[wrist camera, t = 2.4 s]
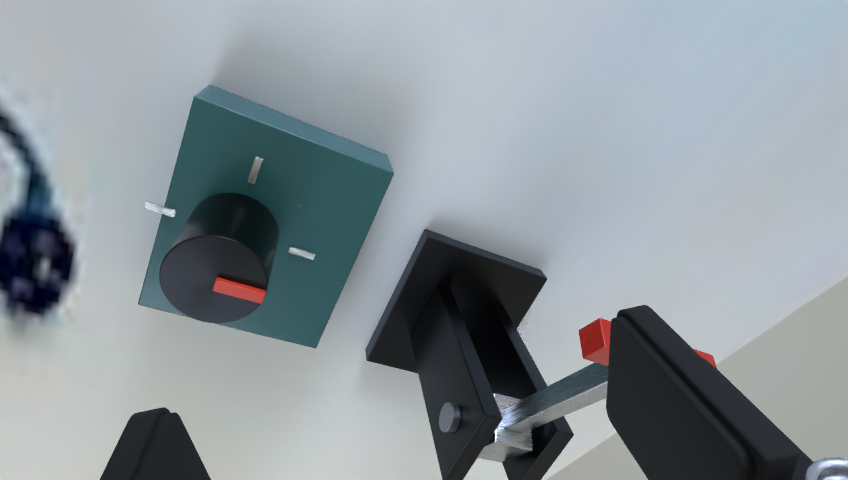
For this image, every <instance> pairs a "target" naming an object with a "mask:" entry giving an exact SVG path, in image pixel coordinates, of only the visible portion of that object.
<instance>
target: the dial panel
mask: <svg viewBox="0 0 848 480" xmlns="http://www.w3.org/2000/svg"><path fill="white" fill-rule="evenodd" d="M393 175H394V172H393V170H392V167H391V164H390V161H389V158H388V156H387V155H385V154H383V153H380V152H378V151H375V150H373V149H370V148H368V147H365V146H363V145H360V144H358V143H355V142H353V141H350V140H348V139H345V138H343V137H340V136H338V135H335V134H333V133H330V132H327V131H325V130H322V129H320V128H317V127H315V126H312V125H310V124H307V123H305V122H302V121H300V120H297V119H295V118H292V117H290V116H287V115H285V114H282V113H280V112H277V111H275V110H272V109H270V108H267V107H265V106H262V105H260V104H257V103H255V102H252V101H250V100H247V99H245V98H242V97H240V96H237V95H235V94H232V93H230V92H227V91H225V90H222V89H220V88H217V87H215V86H212V85H209V86H207V87H206V88H205V89H203V90H202V91H201V92H199V93H198V94H197V95H195V96H194V98H193V102H192V106H191V109H190V113H189V117H188V121H187V124H186V128H185V132H184V135H183V139H182V143H181V146H180V150H179V154H178V158H177V161H176V165H175V169H174V172H173V176H172V180H171V183H170V187H169V191H168V195H167V198H166V202H165V206H162V205H158V204H155V203H152V202H149V201H146V203H145V207H144V208H145V209H149V210H152V211H155V212H158V213H162V217H161V220H160V224H159V228H158V232H157V235H156V239H155V243H154V246H153V250H152V254H151V257H150V261H149V265H148V269H147V272H146V276H145V280H144V283H143V287H142V291H141V294H140V298H139V302H138V305H142V306H146V307H150V308H154V309H158V310H162V311H166V312H170V313H174V314H178V315H182V316H186V317H189V316H187V315H185V314H183V313H182V312H180V311H179V310H177V309H176V308H175V307H174V306H173V305H172V304H171V303H170V302H169V301H168V299H167V298H166V296H165V295H164V293H163V291H162V288H161V285H160V280H159V271H160V266H161V263H162V260H163V259H164V257H165V255H166V254H167V252H168V250H169V249H170V247H171V246H172V244H173V243H174V241H175V239H176V238H177V236H178V235H179V233H180V231H181V230H182V228H183V227H184V225H185V224H186V222H187V220H188V219H189V217H190V216H191V214H192V212H193V211H194V209H195V208H196V207H197V206H198V205H199V204H200V203H201V202H202V201H204V200H205V199H207V198H209V197H211V196H213V195H216V194H221V193H239V194H243V195H247V196H249V197H252V198H254V199H256V200H258V201H259V202H260V203H262V204H263V205H264V206H265V207H267V209H268V210H269V211H270V212H271V213H272V215H273V216H274V218H275V221H276V223H277V226H278V242H277V247H276V251H275V256H274V261H273V265H272V270H271V274H270V279H269V284H268V288H267V292H266V295H265V297H264V299H263V302H262V304H260V305H259V306H258V307H257V308H256V309H255V310H254V311H253V312H252V313H250V314H249V315H247V316H245V317H243V318H241V319H238V320H235V321H231V322H225V323H215V324H219V325H223V326H227V327H231V328H235V329H239V330H243V331H247V332H251V333H255V334H259V335H263V336H267V337H272V338H276V339H280V340H284V341H288V342H292V343H296V344H300V345H304V346H308V347H312V348H316V347H317V345H318V343H319V341H320V338H321V336H322V334H323V332H324V329H325V327H326V325H327V323H328V320H329V318H330V316H331V314H332V311H333V309H334V307H335V305H336V302H337V300H338V298H339V296H340V293H341V291H342V289H343V287H344V284H345V282H346V280H347V278H348V276H349V273H350V271H351V269H352V267H353V264H354V262H355V260H356V258H357V255H358V253H359V251H360V249H361V246H362V244H363V242H364V240H365V237H366V235H367V233H368V231H369V228H370V226H371V224H372V222H373V219H374V217H375V215H376V213H377V210H378V208H379V206H380V204H381V201H382V199H383V197H384V195H385V193H386V190H387V188H388V186H389V184H390V181H391V179H392V177H393ZM190 318H191V317H190Z"/></svg>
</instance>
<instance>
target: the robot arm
mask: <svg viewBox="0 0 848 480" xmlns="http://www.w3.org/2000/svg"><path fill="white" fill-rule="evenodd" d="M606 409H607V414H608V417H609V419H610V421H611V423H612V425H613V426H614V428H615V429H616V431H617V433H618V434H619V436H620V437H621V439H622V440H623V441H624V443H625V445H626V446H627V448H628V449H629V451H630V452H631V454H632V455H633V457H634V458H635V460H636V461H637V463H638V464H639V466H640V467H641V469H642V470H643V472H644V474H645V475H646V477H647V478H648V480H848V459H844V458H824V459H821V460H818V461H816V462H813V461H812V460H811V459H810V458H809V457H808V456H806V454H804V453H803V452H802V451H801V450H800V449H799V448H798V447H797V446H796V445H795V444H794V443H793V442H792V441H791V440H790V439H789V438H788V437H787V436H786V435H785V434H784V433H783V432H782V431H781V430H779V429H778V428H777V427H776V426H775V425H774V424H773V423H772V422H771V421H770V420H769V419H768V418H767V417H766V416H765V415H764V414H763V413H762V412H761V411H760V410H759V409H758V408H757V407H756V406H755V405H754V404H752V403H751V402H750V401H749V400H748V399H747V398H746V397H745V396H744V395H743V394H742V393H741V392H740V391H739V390H738V389H737V388H736V387H735V386H734V385H733V384H732V383H731V382H730V381H729V380H728V379H727V378H726V377H724V376H723V375H722V374H721V373H720V372H719V371H718V370H717V369H716V368H715V367H714V366H713V365H712V364H711V363H710V362H708V361H707V360H706V359H704V358H702V357H701V356H700V355H699V354H698V353H696V352H695V351H694V350H693V349H692V348H691V347H690V346H689V345H688V344H687V343H686V342H685V341H684V340H683V339H682V338H681V337H680V336H679V335H678V334H677V333H676V332H675V331H674V330H673V329H672V328H671V327H670V326H669V325H668V324H667V323H666V322H665V321H664V320H662V319H661V318H660V317H659V316H658V315H657V314H656V313H655V312H654V311H653V310H652V309H651V308H650V307H648V306H646V305H642V306H637V307H632V308H628V309H623V310H620V311H619V312H618V314H617V318H614V319H612V321H611V328H610V346H609V364H608V382H607V400H606ZM100 480H211V479H210V477H209V475H208V473H207V471H206V469H205V467H204V465H203V463H202V461H201V459H200V457H199V455H198V453H197V451H196V448H195V446H194V444H193V442H192V440H191V438H190V436H189V434H188V432H187V430H186V428H185V426H184V424H183V422H182V420H181V418H180V416H179V415H178V414H177V413H170V411H169V410H168V409H167V408H158V409H153V410H149V411H144V412H139V413H135V414H133V415H132V416H131V418H130V419H129V421H128V423H127V425H126V427H125V429H124V431H123V433H122V435H121V437H120V439H119V441H118V443H117V445H116V447H115V449H114V452H113V454H112V456H111V458H110V460H109V462H108V464H107V466H106V468H105V470H104V472H103V474H102V476H101V478H100Z"/></svg>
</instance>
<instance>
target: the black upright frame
mask: <svg viewBox="0 0 848 480" xmlns="http://www.w3.org/2000/svg"><path fill="white" fill-rule="evenodd" d="M546 280H547V278H546V276H545V275H544V274H543V272H542V271H541V270H539V269H536V268H533V267H530V266H527V265H525V264H522V263H519V262H516V261H513V260H510V259H508V258H505V257H502V256H499V255H496V254H494V253H491V252H488V251H485V250H482V249H479V248H477V247H474V246H471V245H468V244H465V243H463V242H460V241H457V240H454V239H451V238H448V237H446V236H443V235H440V234H437V233H434V232H432V231H429V230H426V229H425V230H424V232H423V234H422V236H421V238H420V240H419V242H418V244H417V246H416V248H415V250H414V252H413V254H412V256H411V258H410V260H409V262H408V265H407V267H406V269H405V271H404V273H403V275H402V277H401V279H400V281H399V283H398V285H397V287H396V289H395V291H394V293H393V295H392V297H391V299H390V301H389V303H388V305H387V307H386V309H385V311H384V313H383V315H382V317H381V319H380V321H379V323H378V325H377V328H376V330H375V332H374V334H373V336H372V338H371V340H370V342H369V344H368V346H367V348H366V359H367V361H370V362H374V363H378V364H383V365H387V366H391V367H395V368H399V369H403V370H407V371H411V372H415V373H418V374H419V378H420V382H421V387H422V391H423V396H424V400H425V404H426V409H427V413H428V418H429V422H430V426H431V431H432V435H433V440H434V444H435V448H436V453H437V457H438V462H439V466H440V470H441V475H442V479H443V480H463V479H464V477H465V476H466V474H467V473H468V471H469V469H470V468H471V466H472V465H473V463H474V462H475V460H476V459H477V457H478V456H479V454H480V453H481V451H482V450H483V448H484V447H485V445H486V444H487V442H488V441H489V439H490V438H491V436H492V435H493V433H494V432H495V430H496V429H497V427H498V426H499V424H500V423H501V421H502V420H503V417H502V415H501V412H500V410H499V407H498V405H497V402H496V400H495V397H494V395H493V393H496V394H500V395H504V396H508V397H512V398H516V399H520V400H522V399H524V398H526V397H528V396H530V395H532V394H534V393H536V392H538V391H540V390H542V389H544V388H546V387H548V386H547V385H546V383H545V381H544V379H543V377H542V375H541V374H540V372H539V370H538V368H537V366H536V364H535V363H534V361H533V359H532V357H531V355H530V353H529V352H528V350H527V348H526V346H525V344H524V342H523V341H522V339H521V337H520V335H519V333H518V331H517V330H516V329H517V327H518V326H519V324H520V322H521V321H522V319H523V318H524V316H525V314H526V313H527V311H528V309H529V308H530V306H531V305H532V303H533V301H534V300H535V298H536V297H537V295H538V293H539V292H540V290H541V288H542V287H543V285H544V284H545V282H546ZM531 430H532V442H533V450H532V451H529V452H527V453H524V454H521V455H519V456H516V457H513V458H511V459H508V460H505V461H503V462H502V463H503V466H504V469H505V472H506V474H507V477H508V480H541V479H542V477H543V476H544V475H545V473H546V472H547V471H548V469H549V468H550V466H551V465H552V464H553V462H554V461H555V460H556V458H557V457H558V456H559V454H560V453H561V452H562V450H563V449H564V448H565V446H566V445H567V444H568V442H569V441H570V440H571V438H572V437H573V436H574V434H573V432H572V430H571V428H570V427H569V425H568V423H567V421H566V419H565V417H564V416H562V417H560V418H557V419H555V420H553V421H550V422H548V423H545V424H543V425H541V426H538V427H536V428H534V429H531Z"/></svg>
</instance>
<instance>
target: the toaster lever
mask: <svg viewBox="0 0 848 480" xmlns="http://www.w3.org/2000/svg"><path fill="white" fill-rule="evenodd" d="M610 328H611V321H608V320H605V319H602V318H599V319H597V320H595V321H594V322H592V323H590V324H589V325H587V326H585V327H584V328H582V329H580V330H579V336H580V342H581V348H582V355H583V358H584V359H586V360H590V361H593V362H595V363H593V364H591V365H589V366H587V367H585V368H583V369H581V370H579V371H577V372H575V373H573V374H571V375H569V376H567V377H565V378H563V379H561V380H560V381H558V382H556V383H554V384H552V385H550V386H548V387H546V388H544V389H542V390H540V391H538V392H536V393H534V394H532V395H530V396H528V397H526V398H524V399H522V400H520V399H516V398H512V397H508V396H504V395H500V394H496V393H493V395H494V397H495V400H496V402H497V405H498V407H499V410H500V412H501V415H502V417H503V420H502V421H501V423H500V424H499V426H498V427H497V429H496V430H495V432H494V433H493V435H492V436H491V438H490V439H489V441H488V442H487V444H486V445H485V447H484V448H483V450H482V451H481V453H480V454H479V456H478V457H477V458H482V459H487V460H492V461H498V462H503V461H505V460H508V459H511V458H513V457H516V456H519V455H521V454H524V453H527V452H529V451H532V450H533V442H532V430H531V429H534V428H536V427H538V426H541V425H543V424H545V423H548V422H550V421H553V420H555V419H557V418H560V417H562V416H564V415H567V414H569V413H571V412H574V411H576V410H578V409H581V408H583V407H586V406H588V405H590V404H593V403H595V402H597V401H600V400H602V399H604V398H607V382H608V364H609V346H610ZM693 350H694V351H695V352H696V353H698V354H699V355H700V356H701V357H702V358H704V359H706V360H707V361H708V362H710V363H711V364H712V365H713V366H714V367H715V368H716V364H715V361H714V358H713V356H712V355H710V354H707V353H704V352H701V351H698V350H695V349H693ZM716 369H717V368H716Z"/></svg>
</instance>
